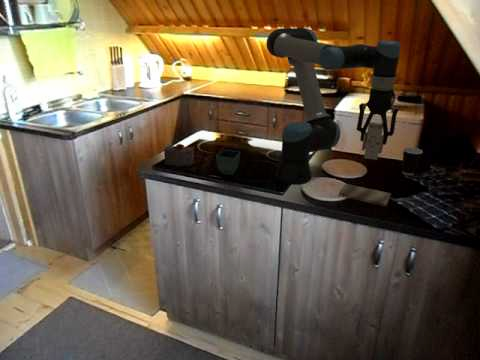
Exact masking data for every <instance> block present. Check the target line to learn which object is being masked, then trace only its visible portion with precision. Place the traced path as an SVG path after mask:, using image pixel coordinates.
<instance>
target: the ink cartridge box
mask: <svg viewBox="0 0 480 360" xmlns="http://www.w3.org/2000/svg"><path fill="white" fill-rule="evenodd" d="M367 132H368V133H367V140H366V147H365V150H364V156H363V159H368V160H374V161H375V160H378V159H379V147H380V142H381V136H382V135H383V120H382V119H381V122H373V121H370V123H369V125H368V127H367Z"/></svg>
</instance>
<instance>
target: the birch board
mask: <svg viewBox="0 0 480 360" xmlns="http://www.w3.org/2000/svg"><path fill="white" fill-rule="evenodd" d="M338 195H342V196H345V197H344V198H346V197H347V199H352V200H356V201H360V202H365V203H367V204H368V203H369V204H373V205H378V206H382V207H387V206H388V204H389V201H390V198H391V196H392V193H391V192H385V191H382V190H381V191H380V190H378V189H372V188H367V187H362V186H358V185H353V184H349V183H345V184H344V185H343V186H342V188H341V189H340V191H339V192H338ZM342 196H341V197H342Z"/></svg>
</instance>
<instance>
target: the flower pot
mask: <svg viewBox="0 0 480 360" xmlns="http://www.w3.org/2000/svg"><path fill="white" fill-rule="evenodd" d="M240 158H241V151H238V150H227V149H221V150H220V151H219V152H218V153H217V154H216V156H215V160H216V165H217V169H218V171H219V172H220V173H221V175H226V176H233V175H234V174H235V172H236V171H237V170H238V167H239V164H240Z"/></svg>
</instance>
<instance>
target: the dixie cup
mask: <svg viewBox="0 0 480 360" xmlns="http://www.w3.org/2000/svg"><path fill="white" fill-rule="evenodd" d="M402 151H403V152H402V153H403V154H402V167H401V171H402V175H405V176H414V175H415V173H416V170H417V167H418V164H419V162H420V159H421V157H422V154H423V149H420V148H417V147H408V146H406V147H403V149H402Z"/></svg>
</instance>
